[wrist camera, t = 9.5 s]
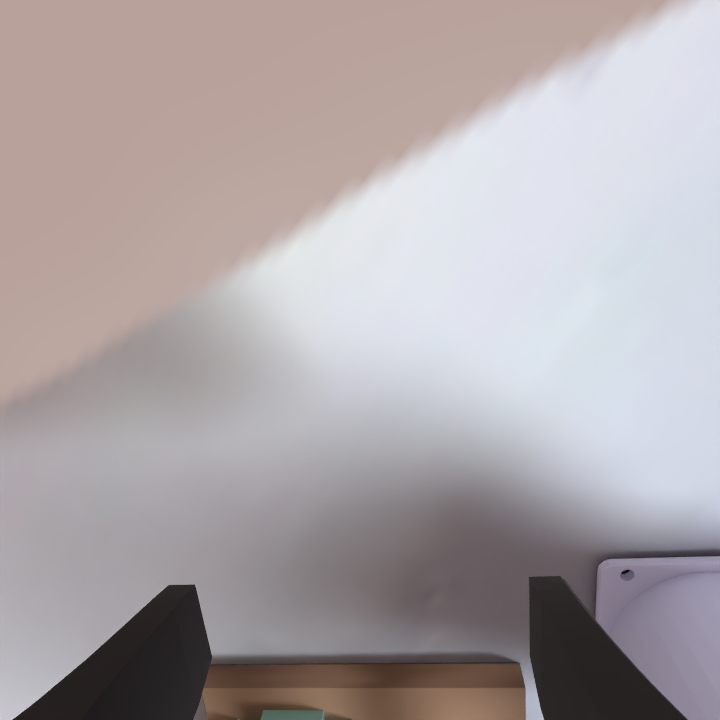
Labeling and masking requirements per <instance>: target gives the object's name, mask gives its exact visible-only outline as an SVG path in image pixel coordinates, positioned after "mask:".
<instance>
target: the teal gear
mask: <svg viewBox="0 0 720 720" xmlns="http://www.w3.org/2000/svg"><path fill="white" fill-rule="evenodd" d="M237 720H240V719H237ZM261 720H325V717H324V711H323V710H263V714H262V717H261ZM352 720H353V719H352Z"/></svg>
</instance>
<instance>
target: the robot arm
mask: <svg viewBox="0 0 720 720" xmlns="http://www.w3.org/2000/svg"><path fill="white" fill-rule="evenodd" d="M624 570H630V571H629V572H628V573H626V574H621V572H623V571H624ZM529 589H530V658H531V663H532V668H533V673H534V678H535V683H536V688H537V693H538V697H539V702H540V707H541V710H542V714H543V717H544V720H720V556H706V557H668V558H630V559H608V560H605V561H603V562H601V564H600V565H599V566H598V570H597V592H596V616H595V618H594V617H593V616H592V615H591V614H590V612H589V611H588V610H587V608H586V607H585V606H584V605H583V603H582V602H581V601H580V600H579V598H578V597H577V596H576V594H575V593H574V592H573V590H572V589H571V588H570V586H569V585H568V584H567V582H566V581H565V580H564V579H563V578H561V577H560V576H549V577H529ZM211 659H212V655H211V651H210V647H209V642H208V638H207V634H206V630H205V625H204V621H203V617H202V612H201V608H200V604H199V600H198V595H197V591H196V587H195V585H169V586H167V587H166V588H165V589H164V590H163V591H162V592H160V593H159V594H158V595H157V596H156V597H155V598H154V599H152V600H151V601H150V602H149V603H148V604H147V605H146V606H145V607H144V608H143V609H142V610H140V611H139V612H138V613H137V614H136V615H135V616H134V617H133V618H132V619H131V620H130V621H128V622H127V623H126V624H125V625H124V626H123V627H122V628H121V629H120V630H119V631H118V632H116V633H115V634H114V635H113V636H112V637H111V638H110V639H109V640H108V641H106V642H105V643H104V644H103V645H102V646H101V647H100V648H99V649H98V650H96V651H95V652H94V653H93V654H92V655H91V656H90V657H89V658H87V659H86V660H85V661H84V662H83V663H82V664H80V665H79V666H78V667H77V668H76V669H74V670H73V671H72V672H71V673H70V674H69V675H67V676H66V677H65V678H64V679H63V680H61V681H60V682H59V683H58V684H57V685H55V686H54V687H53V688H52V689H51V690H49V691H48V692H47V693H46V694H45V695H44V696H42V697H41V698H40V699H39V700H37V701H36V702H35V703H34V704H32V705H31V706H30V707H29V708H27V709H26V710H25V711H23V712H22V713H21V714H20V715H18V716H17V717H16V718H14V719H13V720H193V718H194V716H195V713H196V711H197V708H198V705H199V702H200V698H201V695H202V692H203V688H204V685H205V681H206V678H207V674H208V670H209V667H210V663H211Z"/></svg>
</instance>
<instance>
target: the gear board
mask: <svg viewBox="0 0 720 720" xmlns="http://www.w3.org/2000/svg"><path fill="white" fill-rule="evenodd" d="M202 696H203V700H204V705H205V709H206V713H207V717H208V720H237V719H240V720H261V717H262V714H263V710H323V711H324V717H325V720H352V719H353V720H526V707H525V684H524V680H523V676H522V671H521V667H520V663H482V664H301V665H210V667H209V670H208V674H207V678H206V681H205V685H204V688H203V692H202Z"/></svg>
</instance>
